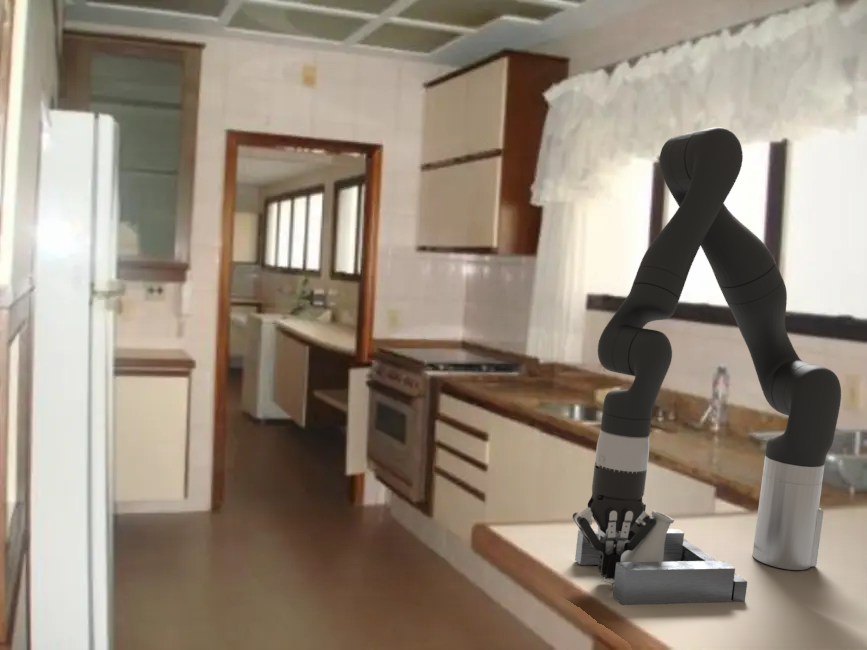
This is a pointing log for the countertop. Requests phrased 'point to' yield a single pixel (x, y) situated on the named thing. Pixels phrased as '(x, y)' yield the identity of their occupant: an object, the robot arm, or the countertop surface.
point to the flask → (651, 542)
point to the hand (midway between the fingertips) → (607, 576)
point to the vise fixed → (678, 580)
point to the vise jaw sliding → (591, 556)
